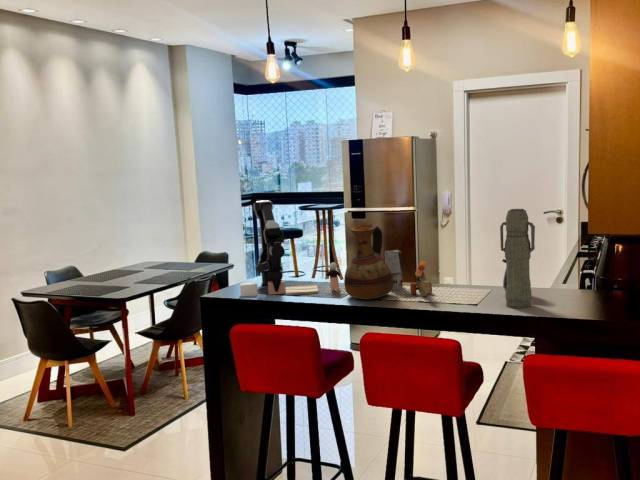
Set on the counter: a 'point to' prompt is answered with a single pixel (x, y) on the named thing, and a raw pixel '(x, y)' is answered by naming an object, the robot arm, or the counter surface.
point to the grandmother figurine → (334, 277)
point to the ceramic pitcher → (368, 266)
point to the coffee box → (395, 267)
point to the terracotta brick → (272, 290)
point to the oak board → (301, 290)
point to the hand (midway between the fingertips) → (276, 290)
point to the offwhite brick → (248, 289)
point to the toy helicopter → (421, 281)
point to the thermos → (518, 258)
